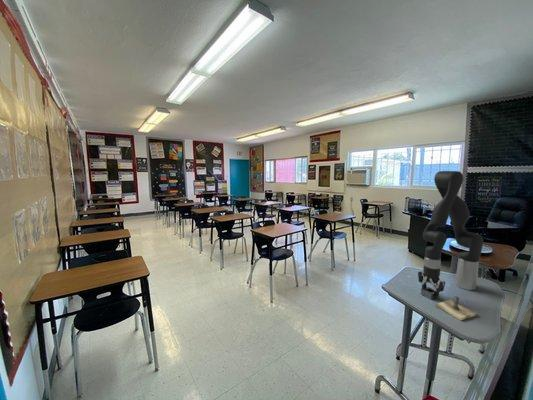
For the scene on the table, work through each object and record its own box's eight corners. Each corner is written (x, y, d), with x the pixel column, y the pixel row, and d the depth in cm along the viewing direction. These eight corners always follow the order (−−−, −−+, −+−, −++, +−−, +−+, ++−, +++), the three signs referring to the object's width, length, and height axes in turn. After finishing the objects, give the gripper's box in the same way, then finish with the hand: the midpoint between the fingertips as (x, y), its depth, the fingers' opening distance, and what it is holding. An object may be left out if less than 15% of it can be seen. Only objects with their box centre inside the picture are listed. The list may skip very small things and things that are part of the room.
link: (428, 291, 132) (428, 286, 131) (438, 297, 126) (439, 292, 125) (420, 293, 130) (421, 288, 129) (430, 299, 124) (431, 294, 124)
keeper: (450, 301, 122) (451, 289, 121) (476, 315, 110) (478, 301, 109) (435, 305, 118) (436, 293, 117) (460, 320, 107) (462, 306, 106)
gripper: (450, 269, 120) (448, 299, 122) (424, 259, 133) (422, 286, 136) (440, 272, 117) (437, 302, 120) (414, 261, 131) (413, 288, 133)
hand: (429, 293), depth 128 cm, fingers closed on link, 6 cm apart
